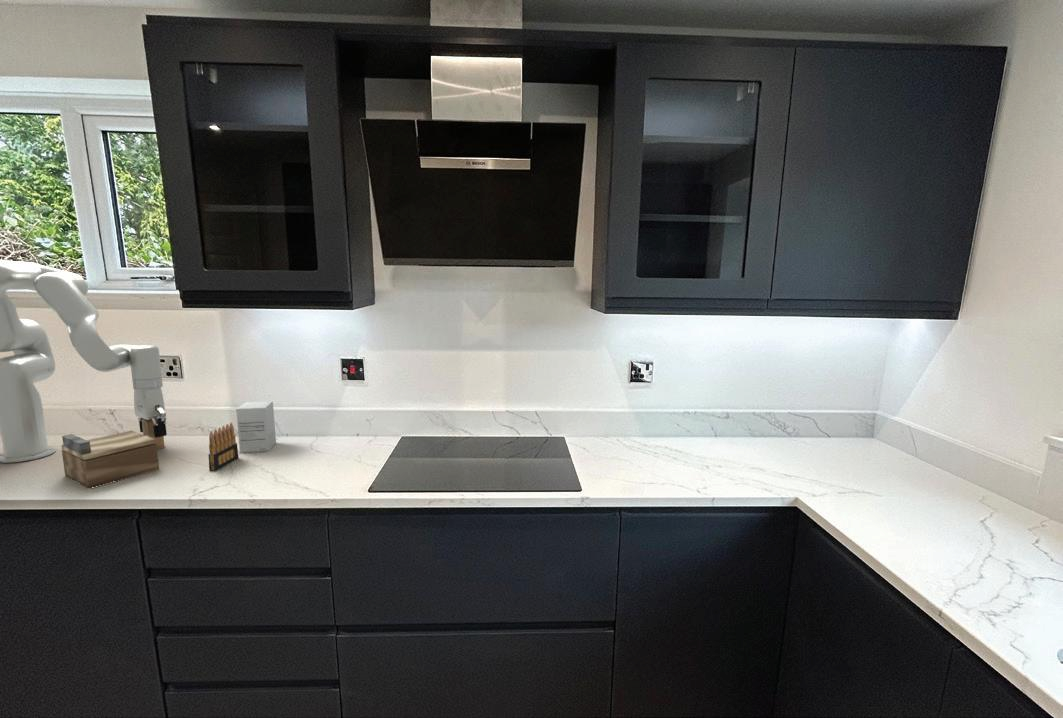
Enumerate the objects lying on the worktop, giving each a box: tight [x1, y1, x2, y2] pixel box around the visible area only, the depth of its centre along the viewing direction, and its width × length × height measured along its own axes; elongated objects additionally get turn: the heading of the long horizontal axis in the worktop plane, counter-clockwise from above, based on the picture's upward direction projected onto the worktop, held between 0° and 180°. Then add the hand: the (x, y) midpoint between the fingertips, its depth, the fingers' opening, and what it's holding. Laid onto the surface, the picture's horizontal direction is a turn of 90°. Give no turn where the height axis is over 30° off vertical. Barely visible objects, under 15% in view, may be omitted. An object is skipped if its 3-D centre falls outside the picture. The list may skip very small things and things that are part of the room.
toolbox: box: [61, 444, 160, 489], centre depth 136 cm, size 16×16×8 cm
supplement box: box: [235, 400, 277, 454], centre depth 158 cm, size 9×9×15 cm
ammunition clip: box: [208, 422, 239, 472], centre depth 143 cm, size 11×2×12 cm, turn 178°
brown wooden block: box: [142, 418, 165, 450], centre depth 156 cm, size 4×4×10 cm
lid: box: [60, 430, 156, 460], centre depth 135 cm, size 15×16×4 cm
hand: (153, 433), depth 156 cm, fingers open, 9 cm apart
